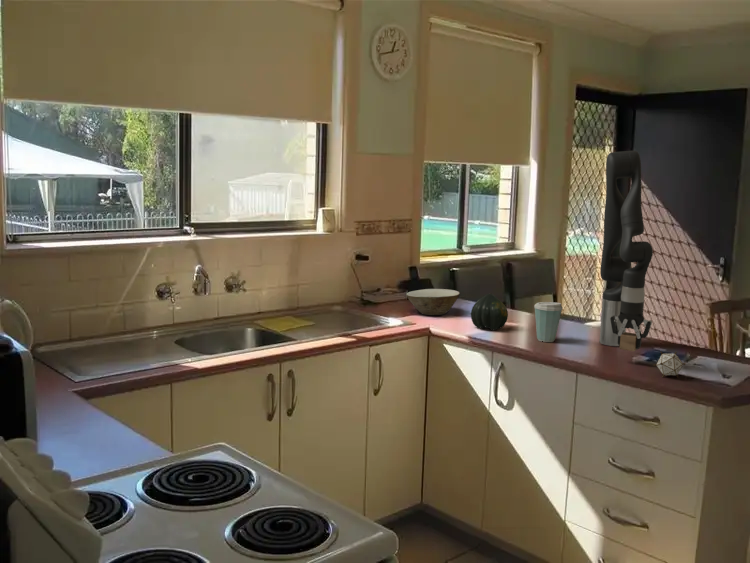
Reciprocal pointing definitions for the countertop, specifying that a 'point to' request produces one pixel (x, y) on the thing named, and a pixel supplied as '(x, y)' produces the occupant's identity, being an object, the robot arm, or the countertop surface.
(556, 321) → the disposable coffee cup
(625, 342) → the walnut block
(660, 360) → the game die
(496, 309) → the squash
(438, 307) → the bowl
